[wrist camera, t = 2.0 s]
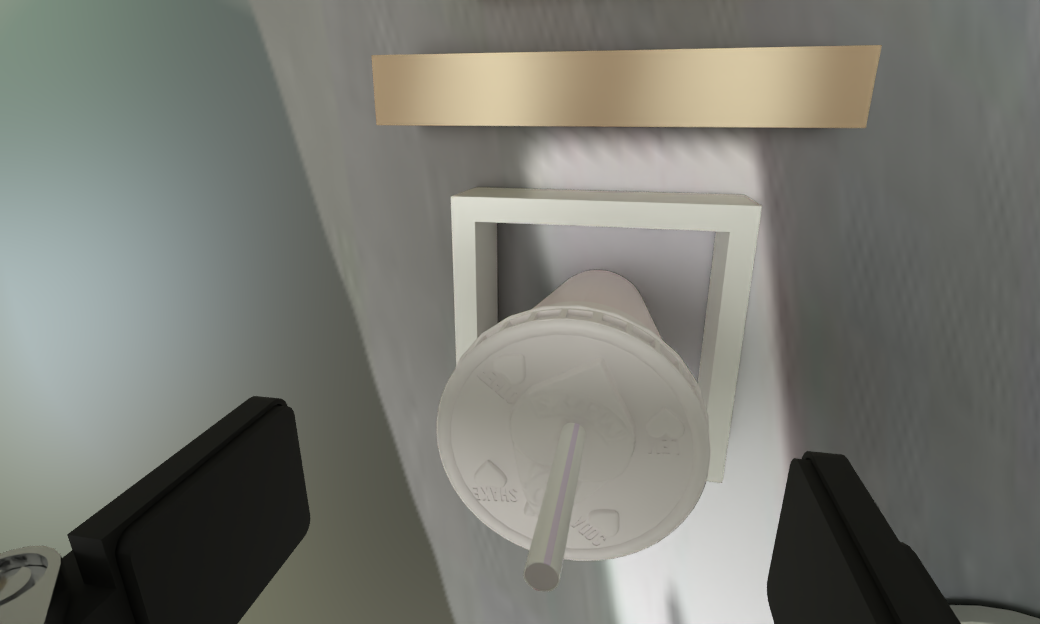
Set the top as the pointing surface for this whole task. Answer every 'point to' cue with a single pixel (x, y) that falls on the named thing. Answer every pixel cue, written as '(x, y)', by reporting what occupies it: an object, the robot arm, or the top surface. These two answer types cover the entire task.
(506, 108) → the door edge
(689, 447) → the smoothie
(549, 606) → the top surface
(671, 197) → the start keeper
